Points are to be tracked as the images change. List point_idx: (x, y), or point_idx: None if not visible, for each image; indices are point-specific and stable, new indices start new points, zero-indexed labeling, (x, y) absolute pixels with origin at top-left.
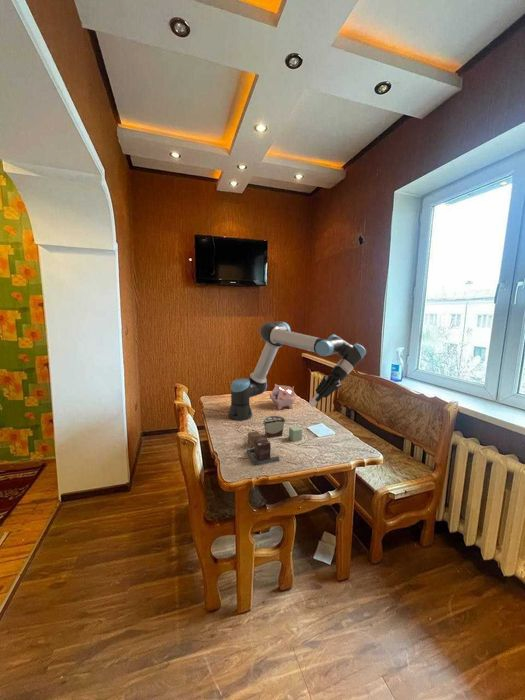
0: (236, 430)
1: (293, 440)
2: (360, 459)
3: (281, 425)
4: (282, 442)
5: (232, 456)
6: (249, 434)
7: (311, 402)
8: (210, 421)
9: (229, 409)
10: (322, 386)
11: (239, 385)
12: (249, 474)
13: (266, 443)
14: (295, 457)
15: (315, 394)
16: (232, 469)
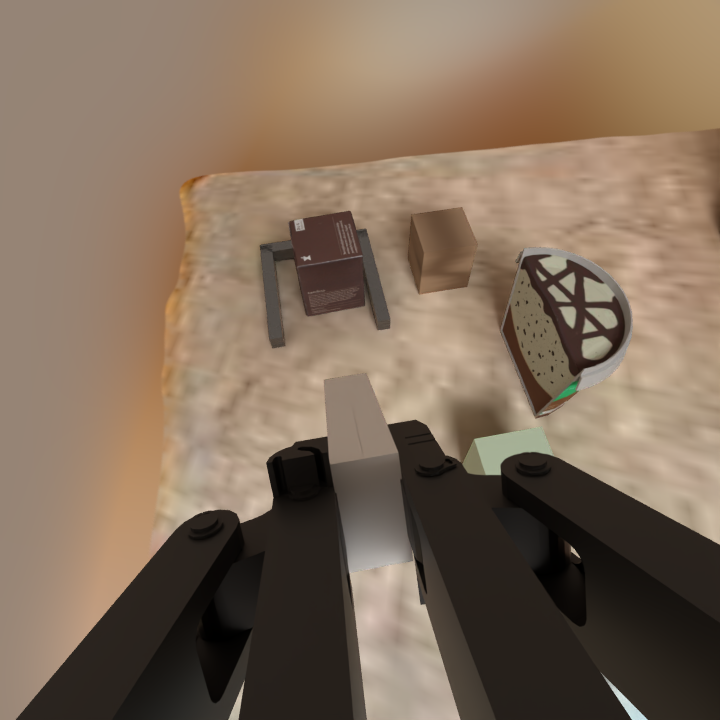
0: (589, 219)
1: (463, 465)
2: None
3: (557, 376)
4: (453, 402)
5: (347, 197)
6: (438, 211)
7: (326, 392)
8: (676, 136)
9: None
10: (497, 605)
11: None
12: (212, 236)
13: (297, 249)
14: (281, 428)
15: (443, 454)
16: (259, 194)
